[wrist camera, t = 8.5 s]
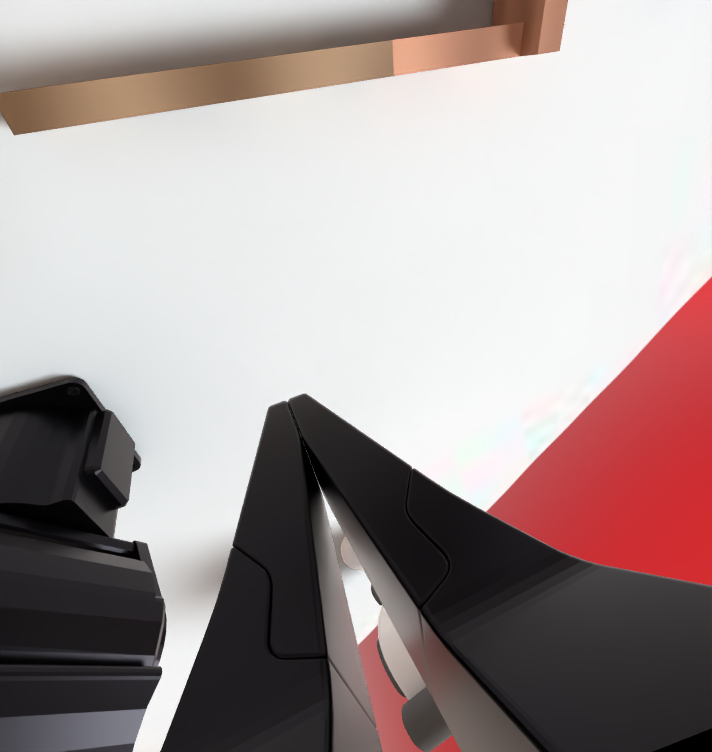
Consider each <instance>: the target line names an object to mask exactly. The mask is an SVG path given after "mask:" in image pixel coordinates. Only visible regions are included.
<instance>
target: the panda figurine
mask: <svg viewBox="0 0 712 752" xmlns="http://www.w3.org/2000/svg"><path fill="white" fill-rule="evenodd" d="M341 556H342V559H343V561H344V563H345V564H346V565H347V566H349V567H350V568H353V569H356V570H362V571H364V569H363V567H362V566H361V564H360V562H359V560H358V558H357V556H356V554H355V552H354V551H353V549H352V547H351V545H350V543H349V541H348V539H347V538H346V536H344V538H343V541H342V544H341ZM371 591H372V594H373V596H374V598H375V600H376V601H377V602H378V604H379V605H382V603H381V601H380V599H379V597H378V595H377V593H376V592H375V590H374V588H373V586H372V584H371ZM378 635H379V638H378V640H377V648H378V652H379V655H380V658H381V661H382V663H383V666H384V668H385V670H386V672H387V674H388V676H389V678H390V680H391V682H392V683H393V685H394V686H395V688H396V690H397V691H398V692H399V693H400V694H401V695H402V696H403V697H406V698H407V699H408V700H409V701H408V702H406V703H405V704H404V705H403V707H402V720H403V724H404V726H405V729H406V730H407V732H408V735H409V736H410V738H411V740H412V741H413V743H414V744H415V745H416V746H417V747H418V748H419V749H421V750H422V751H425V752H430V751H431V750H433V749H434V748H435V747H437V746H438V745H439V744H441V743H442V742H443V741H445V740H446V739H447V738H449V737H450V736H452V733H451V731H450V729H449V727H448V726H447V724H446V722H445V720H444V718H443V716H442V714H441V713H440V711H439V709H438V707H437V705H436V703H435V701H434V699H433V696H432V695H431V694H430V692H429V690H428V688H427V686H426V685H425V683H424V681H423V679H422V677H421V675H420V673H419V672H418V670H417V668H416V666H415V664H414V662H413V660H412V659H411V657H410V655H409V653H408V651H407V649H406V647H405V646H404V644H403V642H402V640H401V638H400V636H399V634H398V632H397V631H396V629H395V627H394V625H393V623H392V621H391V619H390V618H389V616H388V614H387V612H386V610H385V608H384V606H382V608H381V611H380V614H379V620H378Z"/></svg>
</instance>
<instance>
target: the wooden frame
mask: <svg viewBox="0 0 712 752" xmlns="http://www.w3.org/2000/svg"><path fill="white" fill-rule="evenodd" d="M567 3H568V0H494V4H493V16H492V27H485V28H478V29H470V30H463V31H455V32H448V33H441V34H433V35H426V36H418V37H411V38H403V39H396V40H389V41H381V42H374V43H366V44H359V45H351V46H344V47H337V48H329V49H322V50H314V51H307V52H299V53H292V54H285V55H277V56H270V57H262V58H255V59H248V60H240V61H233V62H225V63H218V64H210V65H203V66H196V67H188V68H181V69H173V70H166V71H158V72H151V73H144V74H136V75H129V76H121V77H114V78H107V79H99V80H92V81H84V82H77V83H69V84H62V85H55V86H47V87H40V88H32V89H25V90H17V91H10V92H3V93H0V112H1V114H2V115H3V117H4V119H5V120H6V122H7V124H8V126H9V127H10V129H11V131H12V133H13V134H14V135H19V134H25V133H32V132H38V131H44V130H51V129H57V128H64V127H70V126H76V125H83V124H89V123H96V122H102V121H108V120H115V119H121V118H128V117H134V116H140V115H147V114H153V113H160V112H166V111H172V110H179V109H185V108H192V107H198V106H204V105H211V104H217V103H224V102H230V101H236V100H243V99H249V98H256V97H262V96H268V95H275V94H281V93H288V92H294V91H300V90H307V89H313V88H320V87H326V86H332V85H339V84H345V83H352V82H358V81H364V80H371V79H377V78H384V77H390V76H396V75H403V74H409V73H416V72H422V71H428V70H435V69H441V68H448V67H454V66H460V65H467V64H473V63H480V62H486V61H492V60H499V59H505V58H512V57H518V56H527V55H536V54H543V53H550V52H556V51H560V45H561V39H562V33H563V27H564V21H565V15H566V9H567Z"/></svg>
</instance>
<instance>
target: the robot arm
mask: <svg viewBox="0 0 712 752" xmlns="http://www.w3.org/2000/svg"><path fill="white" fill-rule="evenodd" d="M69 387H77V388H78V389H80V390H78V391H74V390H71V389H70V388H69ZM288 403H289V404H288ZM289 406H290V407H289ZM291 411H292V412H291ZM294 419H295V420H294ZM297 427H298V428H297ZM299 432H300V433H299ZM300 435H301V436H300ZM302 440H303V441H302ZM303 443H304V444H303ZM305 448H306V449H305ZM306 451H307V452H306ZM308 456H309V457H308ZM311 464H312V465H311ZM140 466H141V458H140V456H139V455H138V454H137V452H136V451H135V443H134V441H133V440H132V438H131V437H130V435H129V434H128V433H127V431H126V430H125V428H124V427H123V426H122V424H121V423H120V421H119V420H118V419H117V417H116V416H115V414H114V413H113V412H112V411H110V410H107V409H105V408H104V406H103V405H102V404H101V402H100V401H99V399H98V398H97V397H96V395H95V394H94V393H93V391H92V390H91V388H90V387H89V386H88V384H87V383H86V382H85V381H84V380H82V379H80V378H68V379H64V380H61V381H57V382H54V383H50V384H47V385H43V386H39V387H36V388H32V389H29V390H25V391H22V392H18V393H15V394H11V395H8V396H4V397H0V752H132V751H133V747H134V743H135V740H136V737H137V734H138V731H139V729H140V726H141V723H142V720H143V717H144V714H145V711H146V708H147V706H148V704H149V702H150V700H151V697H152V695H153V693H154V691H155V689H156V687H157V684H158V682H159V680H160V678H161V675H162V668H161V667H160V666H158V664H159V662H160V658H161V655H162V651H163V647H164V642H165V635H166V612H165V603H164V599H163V598H162V596H161V593H160V589H159V585H158V582H157V578H156V574H155V571H154V567H153V564H152V560H151V556H150V553H149V549H148V546H147V543H143V542H139V541H133V542H128V541H124V540H120V539H115V538H114V533H115V525H116V518H117V511H118V508H121V507H124V506H126V504H127V502H128V500H129V493H130V485H131V476H132V472H134V471H136V470H138V469H139V468H140ZM313 469H314V470H313ZM314 472H315V473H314ZM316 477H317V478H316ZM317 480H318V481H317ZM319 485H320V486H319ZM320 487H321V489H320ZM321 490H322V492H323V494H324V496H325V498H326V500H327V502H328V504H329V506H330V508H331V510H332V512H333V513H334V515H335V517H336V519H337V521H338V523H339V525H340V526H341V528H342V530H343V532H344V534H345V536H346V538H347V539H348V541H349V543H350V545H351V547H352V549H353V551H354V552H355V554H356V556H357V558H358V560H359V562H360V564H361V566H362V567H363V569H364V571H365V573H366V575H367V577H368V579H369V580H370V582H371V584H372V586H373V588H374V590H375V592H376V593H377V595H378V597H379V599H380V601H381V603H382V605H383V606H384V608H385V610H386V612H387V614H388V616H389V618H390V619H391V621H392V623H393V625H394V627H395V629H396V631H397V632H398V634H399V636H400V638H401V640H402V642H403V644H404V646H405V647H406V649H407V651H408V653H409V655H410V657H411V659H412V660H413V662H414V664H415V666H416V668H417V670H418V672H419V673H420V675H421V677H422V679H423V681H424V683H425V685H426V686H427V688H428V690H429V692H430V694H431V695H432V696H433V699H434V701H435V703H436V705H437V707H438V709H439V711H440V713H441V714H442V716H443V718H444V720H445V722H446V724H447V726H448V727H449V729H450V731H451V733H452V735H453V737H454V739H455V741H456V742H457V744H458V746H459V748H460V750H461V751H462V752H712V586H710V585H705V584H700V583H694V582H689V581H684V580H678V579H673V578H668V577H663V576H657V575H652V574H647V573H641V572H636V571H631V570H626V569H620V568H615V567H610V566H605V565H600V564H596V563H592V562H589V561H585V560H582V559H580V558H577V557H574V556H571V555H569V554H566V553H564V552H562V551H559V550H557V549H555V548H553V547H551V546H549V545H547V544H545V543H543V542H542V541H539V540H538V539H536V538H534V537H532V536H530V535H528V534H526V533H525V532H523V531H521V530H519V529H517V528H515V527H513V526H511V525H509V524H507V523H506V522H504V521H502V520H500V519H498V518H496V517H494V516H492V515H491V514H489V513H487V512H485V511H483V510H481V509H479V508H477V507H476V506H474V505H472V504H470V503H469V502H467V501H465V500H463V499H461V498H460V497H458V496H456V495H454V494H453V493H451V492H449V491H448V490H446V489H445V488H443V487H442V486H440V485H438V484H437V483H435V482H434V481H432V480H431V479H429V478H428V477H426V476H425V475H423V474H422V473H421V472H419V471H418V470H416V469H412V467H411V466H410V465H409V464H407V463H406V462H404V461H403V460H401V459H400V458H399V457H397V456H396V455H394V454H393V453H391V452H390V451H388V450H387V449H386V448H384V447H383V446H381V445H380V444H378V443H377V442H375V441H374V440H373V439H371V438H370V437H368V436H367V435H365V434H364V433H362V432H361V431H359V430H358V429H357V428H355V427H354V426H352V425H351V424H349V423H348V422H346V421H345V420H344V419H342V418H341V417H339V416H338V415H336V414H335V413H333V412H332V411H331V410H329V409H328V408H326V407H325V406H323V405H322V404H320V403H319V402H318V401H316V400H315V399H313V398H312V397H310V396H309V395H307V394H301V395H298V396H296V397H293V398H290V399H289V401H288V402H287V401H282V402H280V403H277V404H274V405H272V406H270V407H269V408H268V411H267V415H266V419H265V423H264V426H263V430H262V434H261V438H260V442H259V445H258V449H257V453H256V457H255V461H254V464H253V468H252V472H251V476H250V480H249V484H248V487H247V491H246V495H245V499H244V503H243V506H242V510H241V514H240V518H239V522H238V526H237V529H236V533H235V537H234V541H233V547H234V548H232V549H231V551H230V555H229V559H228V563H227V567H226V571H225V574H224V577H223V581H222V584H221V588H220V591H219V594H218V598H217V601H216V604H215V607H214V610H213V613H212V615H211V618H210V621H209V624H208V627H207V630H206V632H205V635H204V638H203V641H202V643H201V646H200V649H199V651H198V654H197V657H196V659H195V662H194V665H193V667H192V670H191V673H190V675H189V678H188V680H187V683H186V686H185V688H184V691H183V694H182V696H181V699H180V702H179V704H178V707H177V710H176V712H175V715H174V718H173V720H172V723H171V725H170V728H169V731H168V733H167V736H166V739H165V741H164V744H163V746H162V749H161V751H160V752H382V748H381V744H380V740H379V735H378V731H377V730H376V723H375V718H374V714H373V710H372V706H371V701H370V697H369V693H368V688H367V684H366V680H365V676H364V671H363V667H362V662H361V658H360V654H359V650H358V645H357V641H356V637H355V632H354V628H353V624H352V619H351V615H350V611H349V607H348V602H347V598H346V594H345V589H344V585H343V581H342V577H341V572H340V568H339V564H338V559H337V555H336V551H335V547H334V542H333V538H332V534H331V529H330V525H329V521H328V517H327V512H326V508H325V504H324V500H323V496H322V492H321Z"/></svg>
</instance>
